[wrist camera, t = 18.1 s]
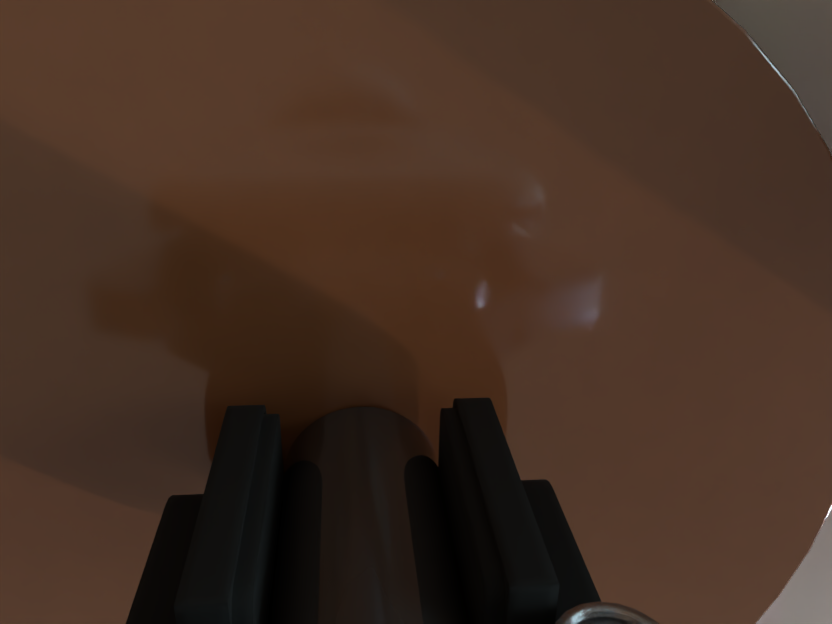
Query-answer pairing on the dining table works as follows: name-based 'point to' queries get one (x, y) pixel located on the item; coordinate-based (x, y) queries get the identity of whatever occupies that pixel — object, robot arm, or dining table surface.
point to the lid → (410, 292)
